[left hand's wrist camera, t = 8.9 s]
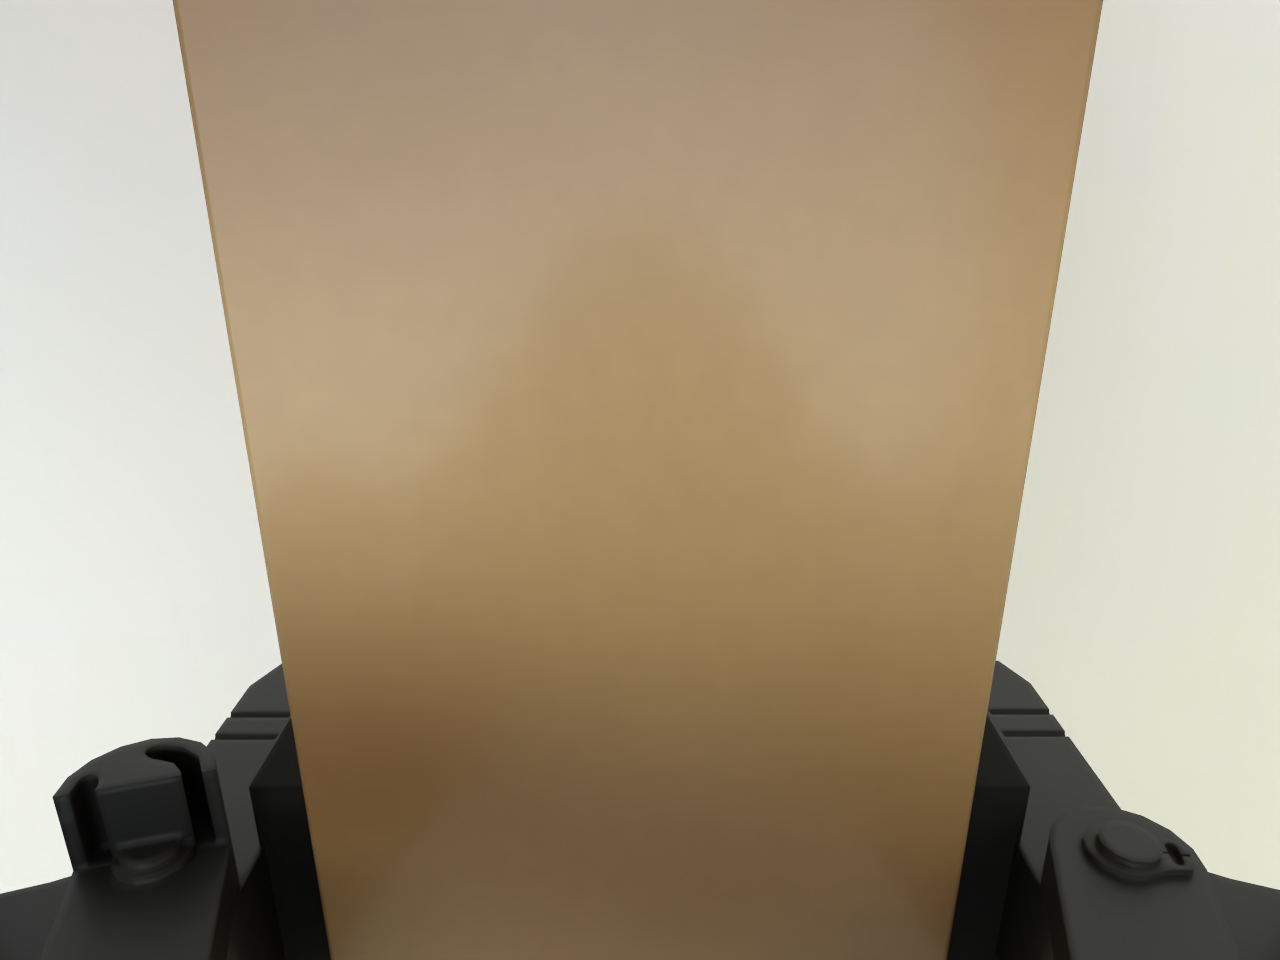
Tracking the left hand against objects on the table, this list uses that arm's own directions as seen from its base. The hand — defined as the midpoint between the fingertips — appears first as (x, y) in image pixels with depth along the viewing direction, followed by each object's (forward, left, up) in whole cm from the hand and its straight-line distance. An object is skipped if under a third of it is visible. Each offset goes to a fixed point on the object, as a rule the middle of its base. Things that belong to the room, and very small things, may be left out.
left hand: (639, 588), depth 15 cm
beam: (+19, -14, -1) cm, 23 cm away
